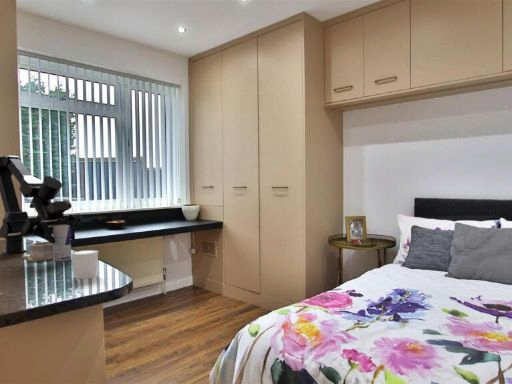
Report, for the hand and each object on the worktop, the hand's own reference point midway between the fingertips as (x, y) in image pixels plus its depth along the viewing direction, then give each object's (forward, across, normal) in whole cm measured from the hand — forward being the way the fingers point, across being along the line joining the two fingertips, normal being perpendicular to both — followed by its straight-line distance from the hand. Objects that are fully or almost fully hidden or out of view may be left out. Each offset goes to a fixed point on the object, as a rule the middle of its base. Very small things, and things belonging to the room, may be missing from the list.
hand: (64, 241), depth 123 cm
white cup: (+23, -10, -14) cm, 29 cm away
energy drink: (+4, 0, +6) cm, 7 cm away
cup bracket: (-4, 0, +13) cm, 13 cm away
